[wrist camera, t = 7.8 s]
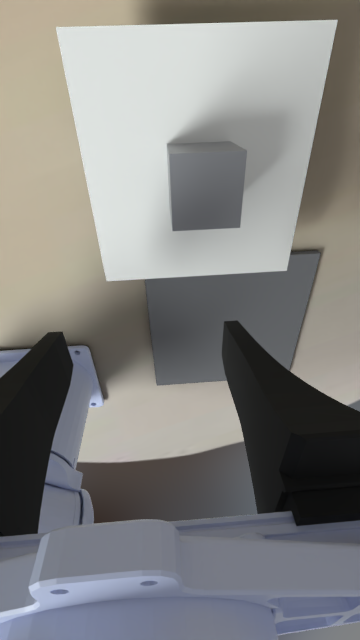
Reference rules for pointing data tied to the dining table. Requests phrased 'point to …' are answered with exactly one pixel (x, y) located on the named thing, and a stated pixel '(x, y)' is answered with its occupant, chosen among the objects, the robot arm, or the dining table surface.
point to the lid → (196, 140)
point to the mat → (225, 317)
